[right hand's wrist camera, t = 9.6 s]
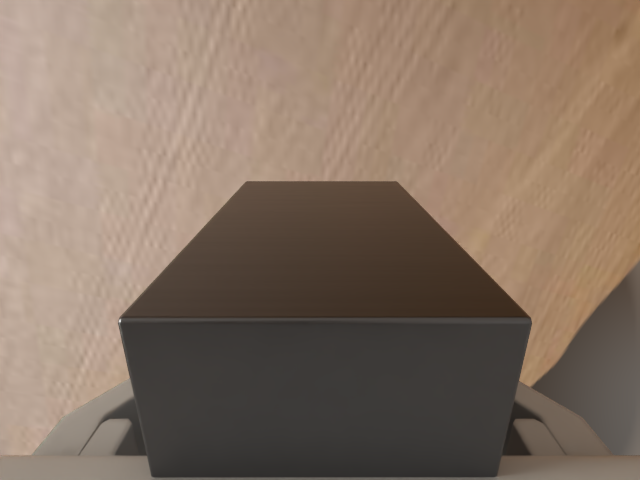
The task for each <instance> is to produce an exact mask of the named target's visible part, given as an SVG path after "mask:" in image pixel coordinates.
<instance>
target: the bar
mask: <svg viewBox="0 0 640 480" xmlns="http://www.w3.org/2000/svg"><path fill="white" fill-rule="evenodd" d="M118 324H119V329H120V334H121V338H122V343H123V348H124V352H125V357H126V361H127V366H128V371H129V375H130V380H131V385H132V389H133V394H134V399H135V403H136V408H137V412H138V417H139V422H140V426H141V431H142V436H143V440H144V445H145V450H146V454H147V459H148V463H149V468H150V473H151V476H152V477H154V478H218V477H496V476H497V474H498V470H499V465H500V461H501V457H502V452H503V448H504V444H505V439H506V435H507V430H508V426H509V422H510V417H511V413H512V409H513V404H514V400H515V395H516V391H517V387H518V382H519V378H520V374H521V369H522V365H523V360H524V356H525V352H526V347H527V343H528V339H529V334H530V330H531V325H532V321H531V318H530V317H529V316H528V315H527V313H526V312H525V311H524V310H523V309H522V308H521V307H520V306H519V305H518V304H517V303H516V302H515V301H514V300H513V299H512V298H511V297H510V296H509V295H508V294H507V293H506V292H505V291H504V290H503V289H502V288H501V287H500V286H499V285H498V284H497V283H496V282H495V281H494V280H493V279H492V278H491V277H490V276H489V275H488V274H487V273H486V272H485V271H484V270H483V269H482V268H481V267H480V266H479V265H478V264H477V263H476V261H475V260H474V259H473V258H472V257H471V256H470V255H469V254H468V253H467V252H466V251H465V250H464V249H463V248H462V247H461V246H460V245H459V244H458V243H457V242H456V241H455V240H454V239H453V238H452V237H451V236H450V235H449V234H448V233H447V232H446V231H445V230H444V229H443V228H442V227H441V226H440V225H439V224H438V223H437V222H436V221H435V220H434V219H433V218H432V217H431V216H430V215H429V214H428V213H427V212H426V211H425V210H424V208H423V207H422V206H421V205H420V204H419V203H418V202H417V201H416V200H415V199H414V198H413V197H412V196H411V195H410V194H409V193H408V192H407V191H406V190H405V189H404V188H403V187H402V186H401V185H400V184H399V183H398V182H396V181H247V182H245V183H244V184H243V185H242V187H241V188H240V189H239V190H238V191H237V192H236V193H235V194H234V195H233V196H232V197H231V198H230V199H229V201H228V202H227V203H226V204H225V205H224V206H223V207H222V208H221V209H220V210H219V211H218V212H217V213H216V214H215V216H214V217H213V218H212V219H211V220H210V221H209V222H208V223H207V224H206V225H205V226H204V227H203V228H202V230H201V231H200V232H199V233H198V234H197V235H196V236H195V237H194V238H193V239H192V240H191V241H190V242H189V244H188V245H187V246H186V247H185V248H184V249H183V250H182V251H181V252H180V253H179V254H178V255H177V256H176V257H175V259H174V260H173V261H172V262H171V263H170V264H169V265H168V266H167V267H166V268H165V269H164V270H163V271H162V273H161V274H160V275H159V276H158V277H157V278H156V279H155V280H154V281H153V282H152V283H151V284H150V285H149V287H148V288H147V289H146V290H145V291H144V292H143V293H142V294H141V295H140V296H139V297H138V298H137V299H136V300H135V302H134V303H133V304H132V305H131V306H130V307H129V308H128V309H127V310H126V311H125V312H124V313H123V314H122V316H121V317H120V318H119V322H118Z"/></svg>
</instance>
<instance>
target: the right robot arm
mask: <svg viewBox="0 0 640 480" xmlns="http://www.w3.org/2000/svg"><path fill="white" fill-rule="evenodd" d="M0 480H640V455H613V454H612V453H611V451H610V450H609V449H608V448H607V447H606V445H605V444H604V443H603V442H602V441H601V439H600V438H599V437H598V436H597V435H596V433H595V432H594V431H593V430H592V429H591V427H590V426H589V425H588V424H587V423H586V421H585V420H584V419H583V418H582V417H580V416H579V415H577V414H575V413H573V412H572V411H570V410H568V409H567V408H565V407H563V406H561V405H560V404H558V403H556V402H554V401H553V400H551V399H549V398H547V397H546V396H544V395H542V394H541V393H539V392H537V391H535V390H534V389H532V388H530V387H528V386H527V385H525V384H523V383H522V382H520V381H519V382H518V387H517V391H516V395H515V400H514V404H513V409H512V413H511V417H510V422H509V426H508V430H507V435H506V439H505V444H504V448H503V452H502V457H501V461H500V465H499V470H498V474H497V476H496V477H218V478H154V477H152V476H151V473H150V468H149V463H148V459H147V454H146V450H145V445H144V440H143V436H142V431H141V426H140V422H139V417H138V412H137V408H136V403H135V399H134V394H133V389H132V385H131V380H130V378H129V379H127V380H126V381H124V382H122V383H121V384H119V385H117V386H115V387H114V388H112V389H110V390H109V391H107V392H105V393H103V394H102V395H100V396H98V397H97V398H95V399H93V400H91V401H90V402H88V403H86V404H85V405H83V406H81V407H79V408H78V409H76V410H74V411H72V412H71V413H69V414H67V415H66V416H64V417H62V419H61V420H60V421H59V422H58V424H57V425H56V426H55V427H54V428H53V430H52V431H51V432H50V433H49V435H48V436H47V437H46V438H45V439H44V441H43V442H42V443H41V444H40V445H39V447H38V448H37V449H36V450H35V452H34V453H33V454H32V455H0Z"/></svg>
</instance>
